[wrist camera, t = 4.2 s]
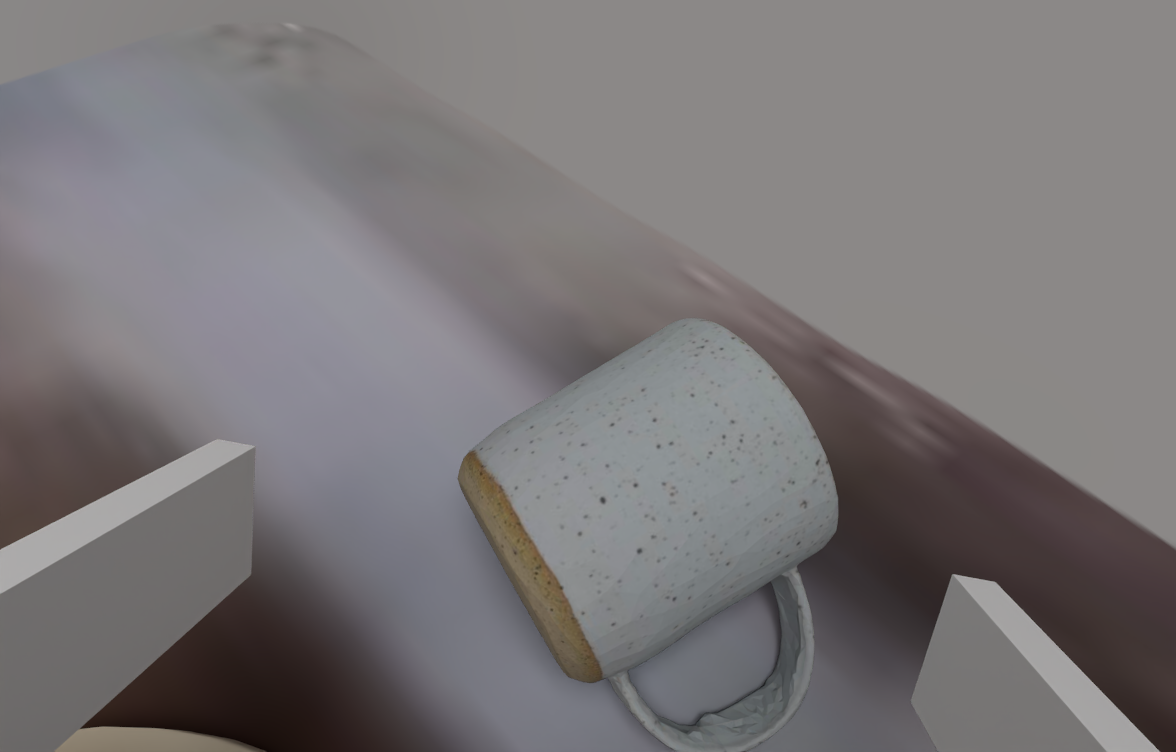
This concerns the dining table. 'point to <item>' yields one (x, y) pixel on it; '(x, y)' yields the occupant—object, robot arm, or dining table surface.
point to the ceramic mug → (661, 517)
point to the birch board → (149, 741)
